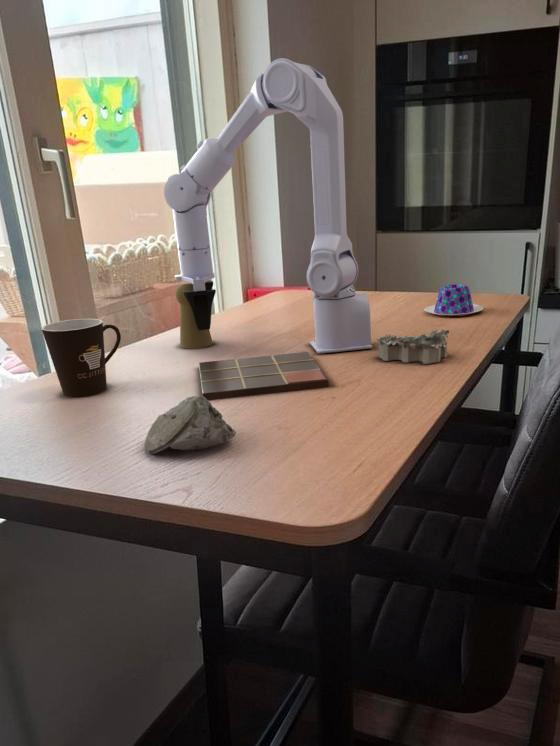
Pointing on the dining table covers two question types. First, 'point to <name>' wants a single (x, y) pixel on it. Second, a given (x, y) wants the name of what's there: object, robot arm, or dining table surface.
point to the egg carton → (414, 347)
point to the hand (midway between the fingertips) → (203, 325)
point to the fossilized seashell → (188, 427)
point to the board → (260, 375)
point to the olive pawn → (190, 323)
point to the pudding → (454, 301)
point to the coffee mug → (79, 355)
